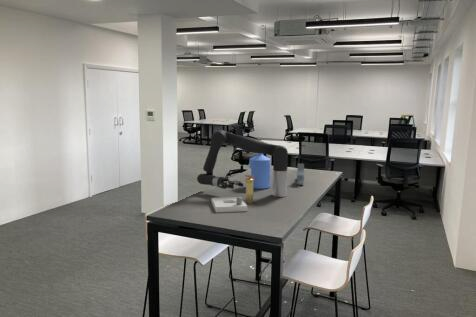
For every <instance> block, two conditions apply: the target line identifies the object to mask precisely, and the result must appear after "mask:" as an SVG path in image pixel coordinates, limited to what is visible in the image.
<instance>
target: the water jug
mask: <svg viewBox="0 0 476 317" xmlns="http://www.w3.org/2000/svg"><path fill="white" fill-rule="evenodd" d="M248 163H249V164H248V165H249V169H250V171H251V172H250V174H251V175H250V176H254V178H253V179H254V181H253V190H266V188H267V189H269V188H270V187H271V164H272V160H271V158H270V157H267V156H266V155H265V154H261V153H257V155H255V156H253V157H250V158H249V162H248Z"/></svg>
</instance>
